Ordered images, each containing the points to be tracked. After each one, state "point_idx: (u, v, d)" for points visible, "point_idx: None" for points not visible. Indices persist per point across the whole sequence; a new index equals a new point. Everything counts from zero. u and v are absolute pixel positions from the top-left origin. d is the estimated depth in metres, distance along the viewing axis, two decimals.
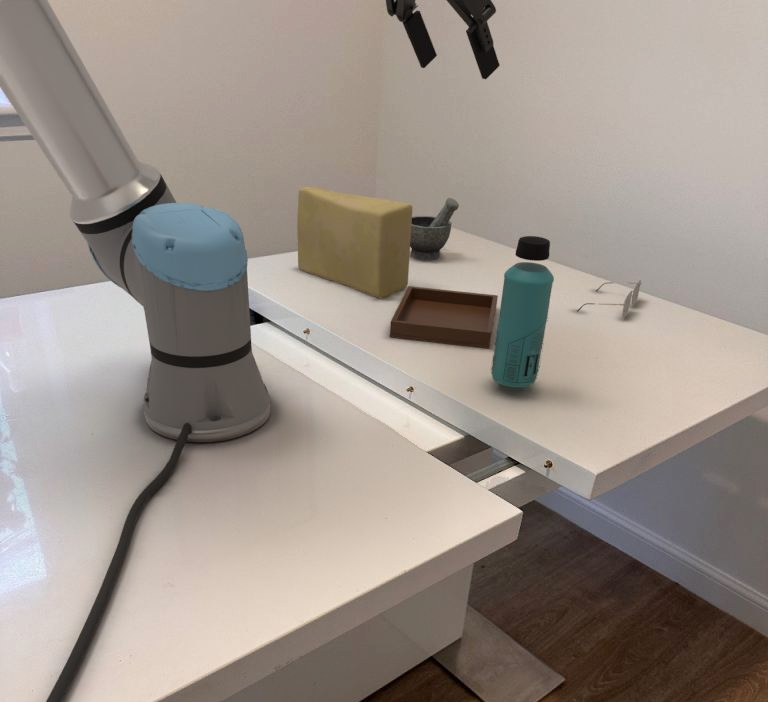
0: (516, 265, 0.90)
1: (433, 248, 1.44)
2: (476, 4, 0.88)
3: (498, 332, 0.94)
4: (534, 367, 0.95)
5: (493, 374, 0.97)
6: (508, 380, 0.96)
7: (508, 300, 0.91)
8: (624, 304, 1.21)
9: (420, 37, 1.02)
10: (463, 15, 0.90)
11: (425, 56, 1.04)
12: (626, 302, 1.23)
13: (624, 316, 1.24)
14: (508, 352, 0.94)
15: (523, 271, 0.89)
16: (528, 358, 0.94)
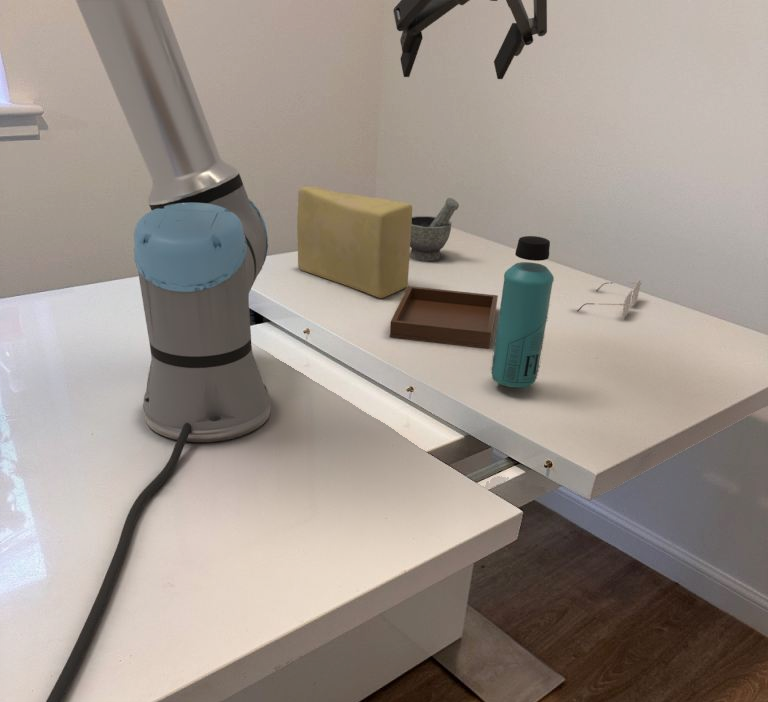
0: (516, 265, 0.90)
1: (433, 248, 1.44)
2: (403, 1, 0.86)
3: (498, 332, 0.94)
4: (534, 367, 0.95)
5: (493, 374, 0.97)
6: (508, 380, 0.96)
7: (508, 300, 0.91)
8: (624, 304, 1.21)
9: (505, 48, 0.96)
10: None
11: (498, 61, 0.98)
12: (626, 302, 1.23)
13: (624, 316, 1.24)
14: (508, 352, 0.94)
15: (523, 271, 0.89)
16: (528, 358, 0.94)
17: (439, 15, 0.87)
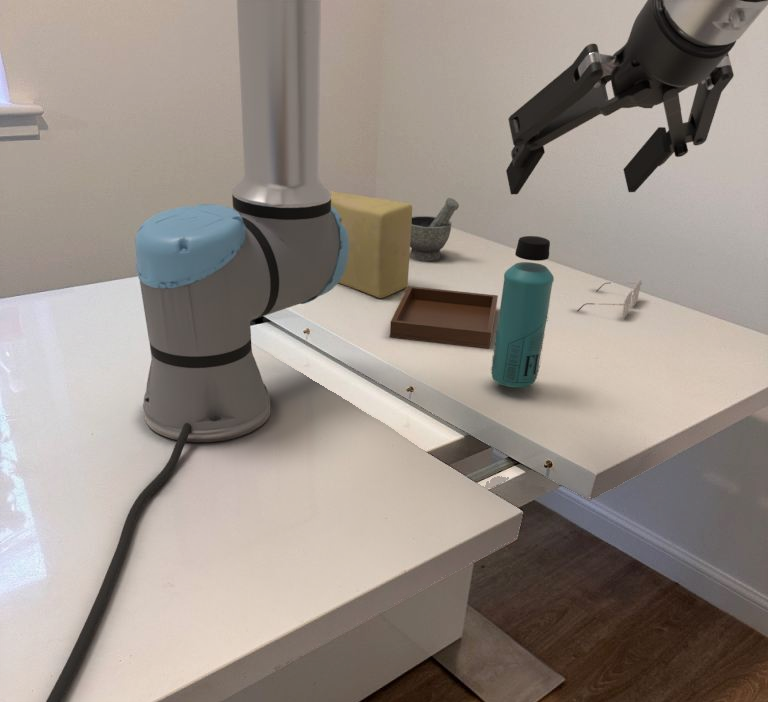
0: (516, 265, 0.90)
1: (433, 248, 1.44)
2: (525, 109, 0.64)
3: (498, 332, 0.94)
4: (534, 367, 0.95)
5: (493, 374, 0.97)
6: (508, 380, 0.96)
7: (508, 300, 0.91)
8: (624, 304, 1.21)
9: (645, 157, 0.73)
10: None
11: (630, 170, 0.76)
12: (626, 302, 1.23)
13: (624, 316, 1.24)
14: (508, 352, 0.94)
15: (523, 271, 0.89)
16: (528, 358, 0.94)
17: (571, 127, 0.64)
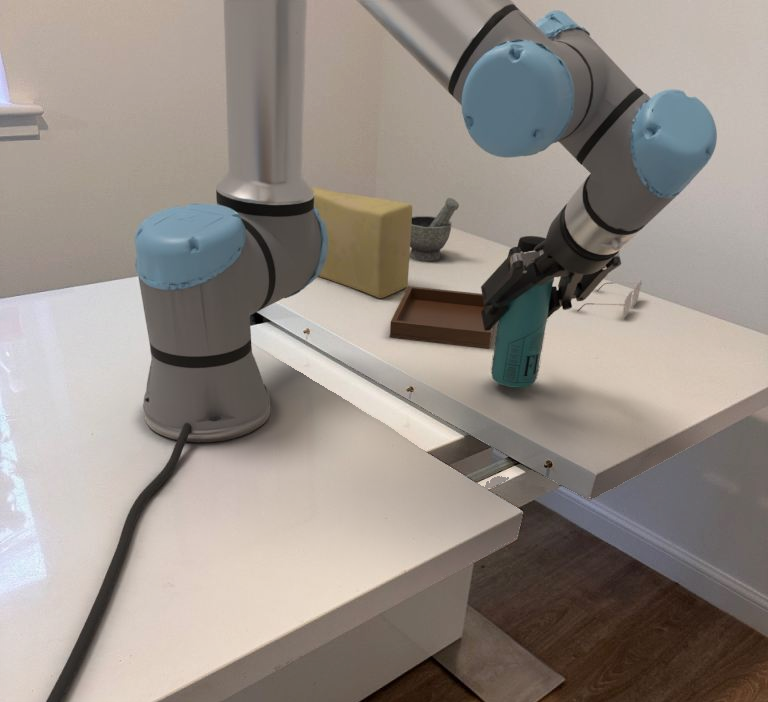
0: None
1: (433, 248, 1.44)
2: (487, 283, 0.87)
3: (498, 332, 0.94)
4: (534, 367, 0.95)
5: (493, 374, 0.97)
6: (508, 380, 0.96)
7: None
8: (624, 304, 1.21)
9: None
10: None
11: None
12: (626, 302, 1.23)
13: (624, 316, 1.24)
14: (508, 352, 0.94)
15: None
16: (528, 358, 0.94)
17: (521, 293, 0.86)
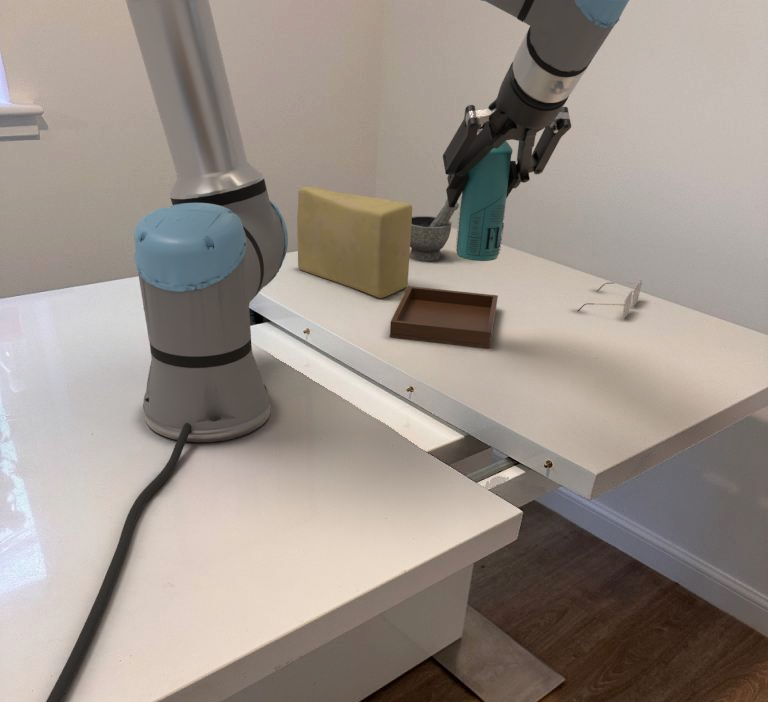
0: None
1: (433, 248, 1.44)
2: (448, 150, 0.92)
3: (461, 206, 1.00)
4: (495, 241, 1.01)
5: (457, 250, 1.03)
6: (471, 253, 1.01)
7: (469, 171, 0.96)
8: (624, 304, 1.21)
9: None
10: None
11: None
12: (626, 302, 1.23)
13: (624, 316, 1.24)
14: (470, 225, 0.99)
15: None
16: (489, 230, 0.99)
17: (479, 159, 0.92)
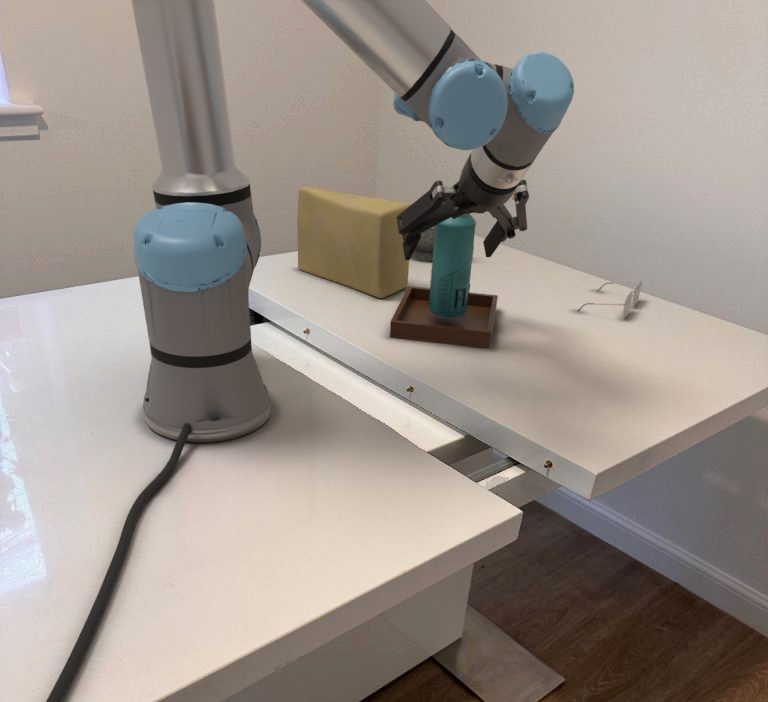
0: None
1: (433, 248, 1.44)
2: (405, 213, 1.02)
3: (432, 270, 1.13)
4: (463, 300, 1.14)
5: (430, 307, 1.16)
6: (441, 311, 1.14)
7: (438, 241, 1.09)
8: (624, 304, 1.21)
9: (492, 236, 1.12)
10: None
11: (486, 243, 1.14)
12: (626, 302, 1.23)
13: (624, 316, 1.24)
14: (440, 286, 1.12)
15: None
16: (457, 291, 1.12)
17: (434, 224, 1.03)
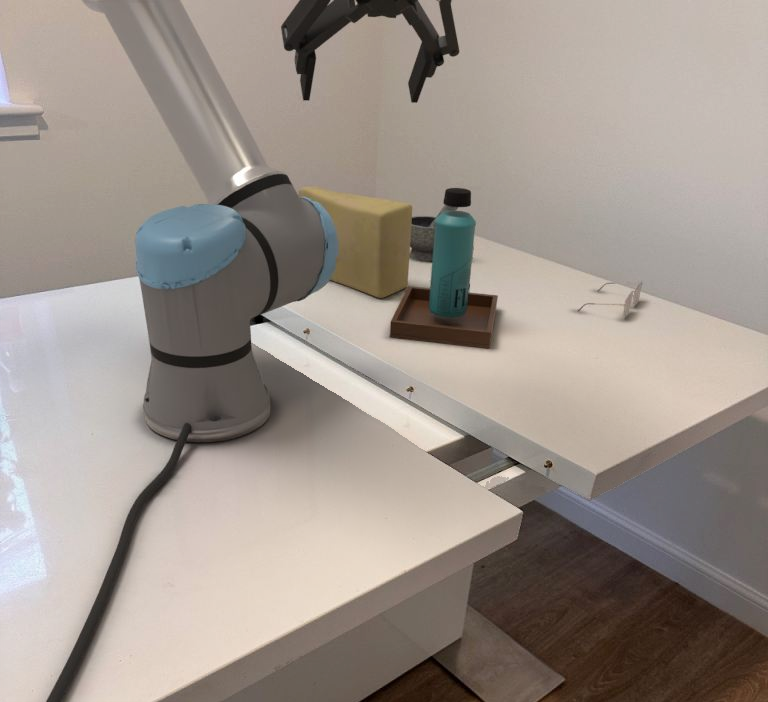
0: (444, 212, 1.09)
1: (433, 248, 1.44)
2: (290, 18, 0.76)
3: (432, 270, 1.13)
4: (463, 300, 1.14)
5: (430, 307, 1.16)
6: (441, 311, 1.14)
7: (438, 241, 1.09)
8: (625, 304, 1.21)
9: (417, 69, 0.86)
10: None
11: (411, 82, 0.88)
12: (627, 302, 1.23)
13: (625, 316, 1.24)
14: (440, 287, 1.12)
15: (449, 216, 1.07)
16: (457, 291, 1.12)
17: (330, 34, 0.77)
